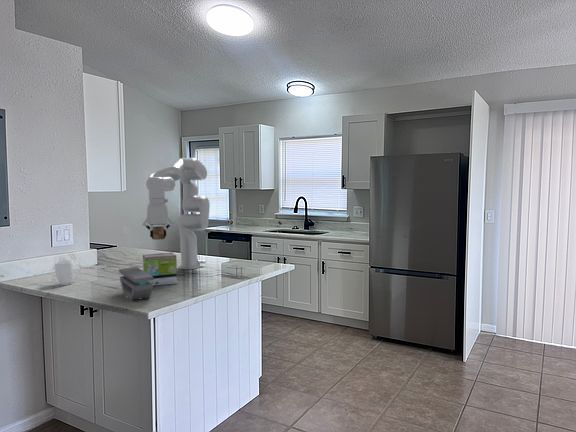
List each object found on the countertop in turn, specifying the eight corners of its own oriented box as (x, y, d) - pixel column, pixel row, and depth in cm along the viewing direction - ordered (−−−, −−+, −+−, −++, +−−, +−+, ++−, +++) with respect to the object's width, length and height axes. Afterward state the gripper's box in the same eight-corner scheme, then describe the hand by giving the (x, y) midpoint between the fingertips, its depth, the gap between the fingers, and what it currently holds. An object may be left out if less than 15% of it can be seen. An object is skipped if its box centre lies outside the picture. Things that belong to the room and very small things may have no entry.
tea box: (146, 287, 215) (145, 257, 214) (143, 282, 224) (142, 254, 223) (177, 283, 222) (176, 254, 221) (173, 279, 231) (171, 251, 230)
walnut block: (163, 238, 224) (162, 226, 224) (163, 239, 219) (163, 227, 219) (153, 238, 223) (152, 226, 222) (153, 239, 218) (152, 227, 217)
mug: (58, 287, 218) (56, 264, 217) (54, 284, 224) (52, 261, 223) (84, 283, 225) (82, 261, 224) (79, 280, 232) (78, 258, 231)
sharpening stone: (120, 292, 207) (119, 269, 206) (137, 289, 212) (136, 267, 211) (135, 304, 187) (134, 279, 186) (154, 301, 191) (153, 276, 190)
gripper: (174, 201, 226) (175, 236, 227) (139, 202, 220) (140, 238, 222) (175, 201, 219) (176, 238, 220) (139, 202, 213) (140, 240, 215)
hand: (158, 237), depth 221 cm, fingers closed on walnut block, 5 cm apart
